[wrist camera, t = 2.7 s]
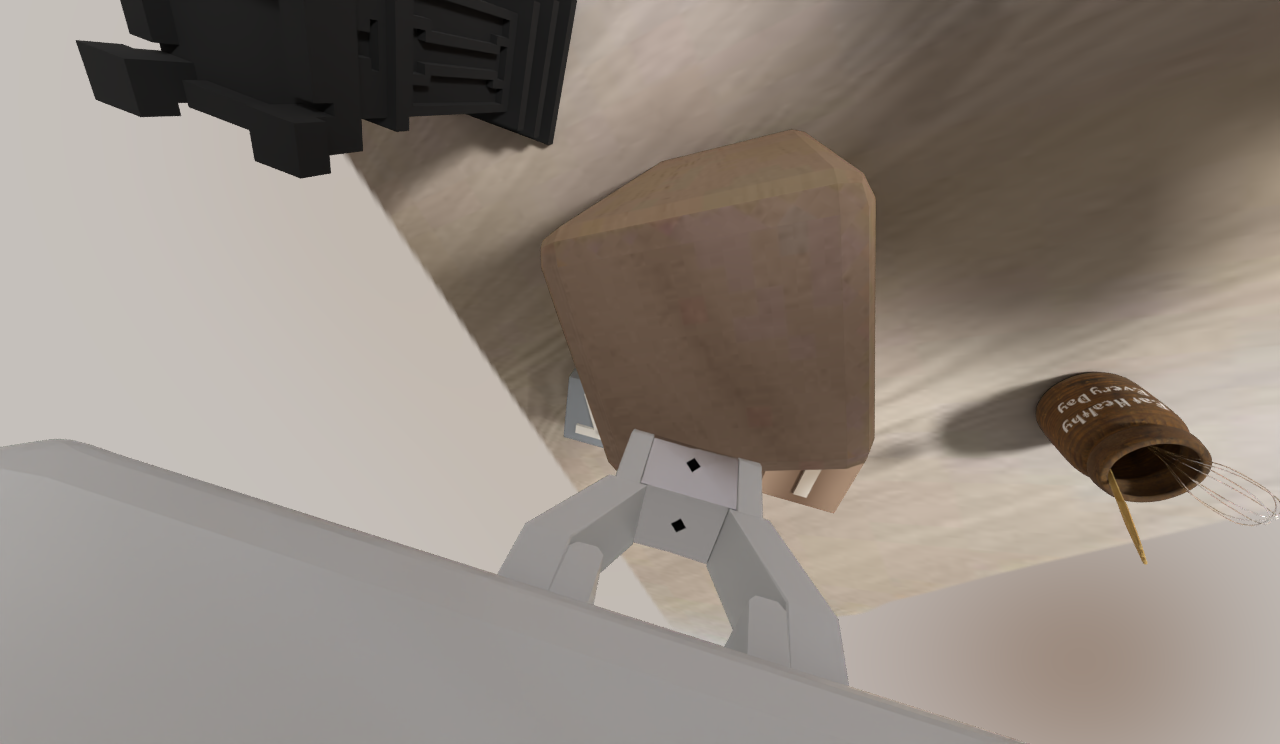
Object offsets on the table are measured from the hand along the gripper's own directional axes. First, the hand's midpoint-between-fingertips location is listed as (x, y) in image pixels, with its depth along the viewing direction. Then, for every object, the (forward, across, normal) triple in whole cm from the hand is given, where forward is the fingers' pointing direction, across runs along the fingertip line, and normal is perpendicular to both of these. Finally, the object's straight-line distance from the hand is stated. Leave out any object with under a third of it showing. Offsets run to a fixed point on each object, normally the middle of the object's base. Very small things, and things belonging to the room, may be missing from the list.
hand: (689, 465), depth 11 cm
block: (+25, 0, 0) cm, 25 cm away
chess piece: (+25, +17, -7) cm, 31 cm away
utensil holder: (+25, -27, +7) cm, 37 cm away
